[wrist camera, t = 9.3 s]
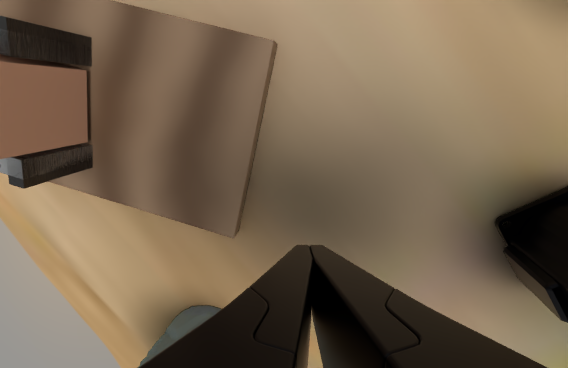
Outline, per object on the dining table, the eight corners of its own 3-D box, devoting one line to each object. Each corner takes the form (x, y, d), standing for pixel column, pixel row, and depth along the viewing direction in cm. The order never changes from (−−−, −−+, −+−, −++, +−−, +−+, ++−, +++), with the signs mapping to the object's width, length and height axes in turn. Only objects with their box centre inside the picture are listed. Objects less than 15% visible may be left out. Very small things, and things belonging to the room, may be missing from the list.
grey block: (91, 37, 18) (5, 16, 13) (92, 167, 21) (24, 188, 16) (-10, 11, 18) (-127, -18, 14) (6, 141, 21) (-85, 154, 17)
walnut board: (277, 44, 17) (273, 40, 16) (238, 231, 22) (233, 238, 21) (1, -25, 19) (-21, -32, 17) (21, 164, 23) (5, 168, 22)
